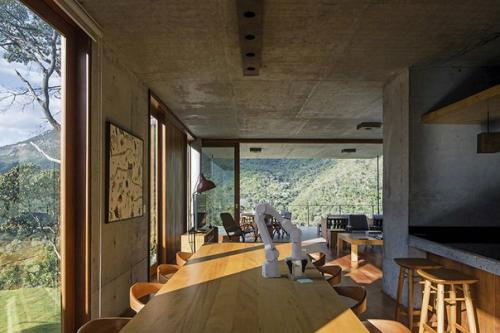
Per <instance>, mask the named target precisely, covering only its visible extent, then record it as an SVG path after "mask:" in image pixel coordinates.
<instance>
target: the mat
mask: <svg viewBox="0 0 500 333" xmlns="http://www.w3.org/2000/svg"><path fill="white" fill-rule="evenodd" d="M296 281H297V282H299V283H301V284H313V283H315V281H313V280H311V279H310V278H307V279H300V280H296Z"/></svg>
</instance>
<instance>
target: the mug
mask: <svg viewBox="0 0 500 333" xmlns="http://www.w3.org/2000/svg"><path fill="white" fill-rule="evenodd" d="M302 256H308V255H307V249H305V248H302ZM290 257H292V254H291V256H290ZM292 263H293V264H294V265H300V266H301V268H302V264H301V260H297V261H292ZM306 269H307V267H306V268H305V270H306Z"/></svg>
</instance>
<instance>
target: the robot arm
mask: <svg viewBox="0 0 500 333" xmlns="http://www.w3.org/2000/svg"><path fill="white" fill-rule="evenodd" d="M254 211H255V212H254V221H255V225H256V226H257V230H258V233H259V235H260V238H261V240H262V243H263V245H264V250H263V251H264V258H265V261H262V263H261V269H262V271H261V276H262V277H263V278H265V279H269V278H281V277H282V275H280V272H279V257H280V251H279V250H278V249H277V247H276V246H275V244H274V243H273V240H272V238H271V234H270V232H269V229H268V227H267V224H266V221H265V217H266V215H271V216H272V217H273V218H274V219H276V220H277V221H278V222H279V223H280V225H281V227H282V229H284V231H286V233H287V234H289V236H290V238H291V255H292V257H291V256H288V257H284V262H285V263H286V265H287V268H288V270H289V274H293V271H292V265H293V262H292V261H295V262H296V261H297V260H301V264H302V274H304V273H305V271H306V269H307V265H308V263H309V260H310V257H309V256H308V255H307V256H302V249H303V248H302V236H303V232H302V229H301V228H299V227H298V226H297V225H294V223H293V222H292V220H291V219H288V218H287V219H285V218H284V217H283V215H281V214H280V213H279V211H277V210H276V208H275V207H274V206H273V205H271V204H270V203H269V202H267V201H266V202H258V204H257V205H256V207H255V208H254ZM305 268H306V269H305Z"/></svg>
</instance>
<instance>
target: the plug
mask: <svg viewBox="0 0 500 333" xmlns="http://www.w3.org/2000/svg"><path fill="white" fill-rule="evenodd" d="M292 274H293V276H302V274H303V273H302V268H301V266H300V265H297V264H294V265H292Z"/></svg>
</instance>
